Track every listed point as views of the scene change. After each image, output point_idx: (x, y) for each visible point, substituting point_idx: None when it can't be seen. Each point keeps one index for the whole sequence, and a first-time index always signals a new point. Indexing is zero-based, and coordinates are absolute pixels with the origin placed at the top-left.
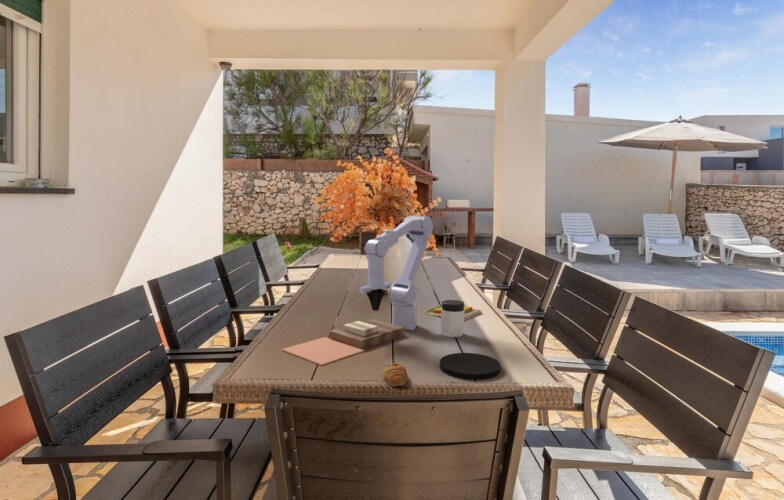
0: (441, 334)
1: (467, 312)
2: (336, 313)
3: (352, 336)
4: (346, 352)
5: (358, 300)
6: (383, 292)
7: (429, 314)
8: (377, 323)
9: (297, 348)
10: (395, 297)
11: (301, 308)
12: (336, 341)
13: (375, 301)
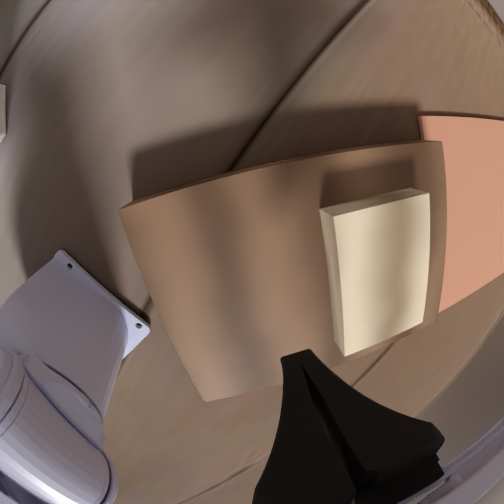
0: (5, 128)
1: None
2: (240, 475)
3: (438, 212)
4: (462, 142)
5: (144, 498)
6: (311, 494)
7: None
8: (225, 344)
9: (497, 257)
10: (77, 449)
11: None
12: None
13: (362, 399)
